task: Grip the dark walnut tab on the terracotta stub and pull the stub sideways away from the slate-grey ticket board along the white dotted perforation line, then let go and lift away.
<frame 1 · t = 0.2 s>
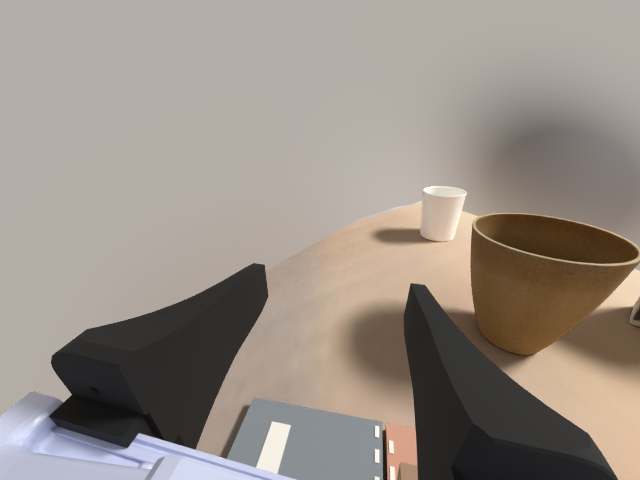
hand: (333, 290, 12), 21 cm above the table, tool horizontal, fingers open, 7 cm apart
plant pot: (507, 334, 36), on the table
candle holder: (436, 235, 67), on the table
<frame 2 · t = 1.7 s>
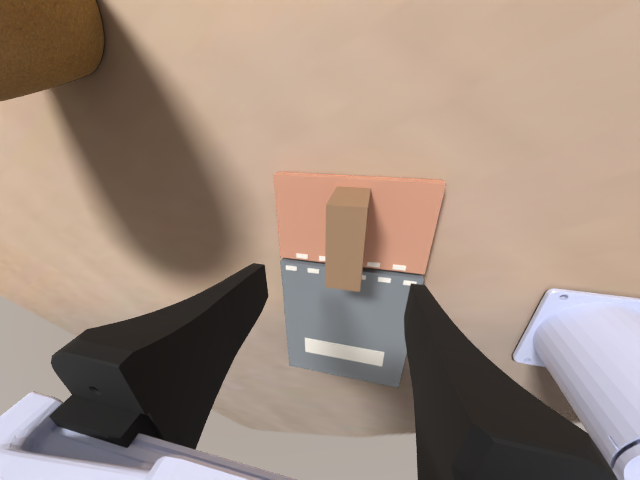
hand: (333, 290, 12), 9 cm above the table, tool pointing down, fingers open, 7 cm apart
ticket: (346, 321, 25), on the table
plant pot: (60, 14, 18), on the table
stub: (348, 234, 18), point 3 cm above the table, slide at 0.0 cm
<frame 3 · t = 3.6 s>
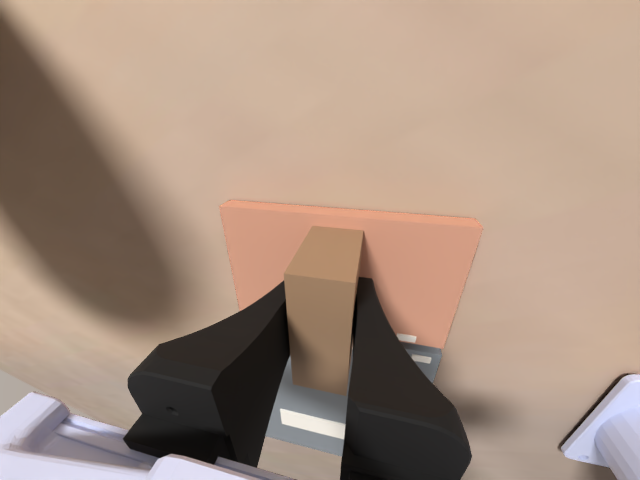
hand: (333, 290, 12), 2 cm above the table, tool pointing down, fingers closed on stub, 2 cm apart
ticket: (333, 389, 19), on the table
stub: (330, 299, 12), point 3 cm above the table, slide at 0.0 cm, touching gripper
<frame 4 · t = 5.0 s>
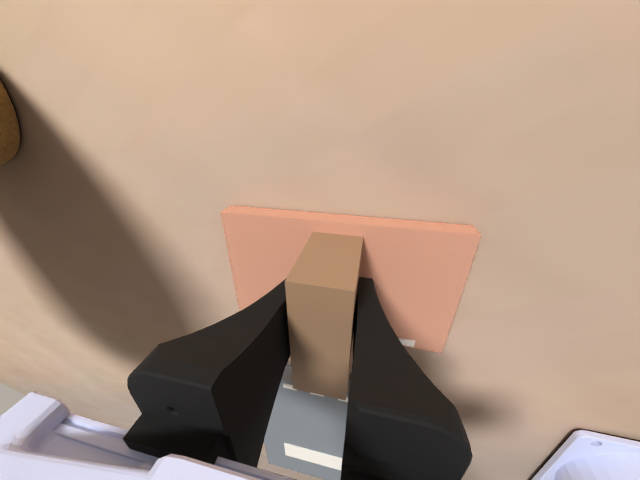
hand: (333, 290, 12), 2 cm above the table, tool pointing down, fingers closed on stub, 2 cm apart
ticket: (331, 426, 22), on the table
stub: (330, 304, 12), point 3 cm above the table, slide at 5.0 cm, touching gripper
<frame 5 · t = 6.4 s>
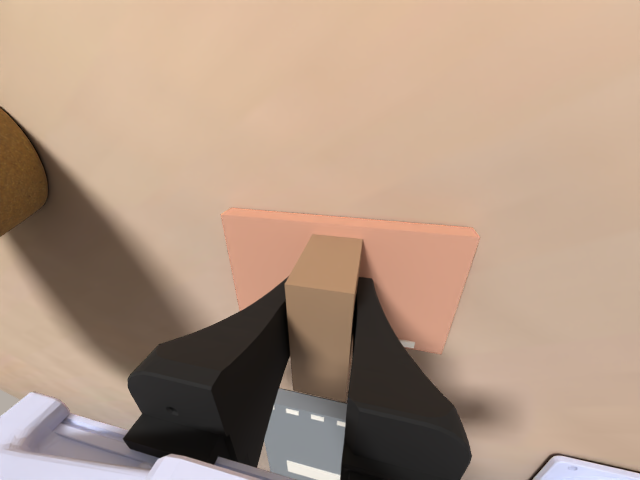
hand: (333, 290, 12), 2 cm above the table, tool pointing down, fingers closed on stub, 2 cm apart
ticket: (331, 445, 23), on the table
stub: (330, 306, 12), point 3 cm above the table, slide at 8.0 cm, touching gripper
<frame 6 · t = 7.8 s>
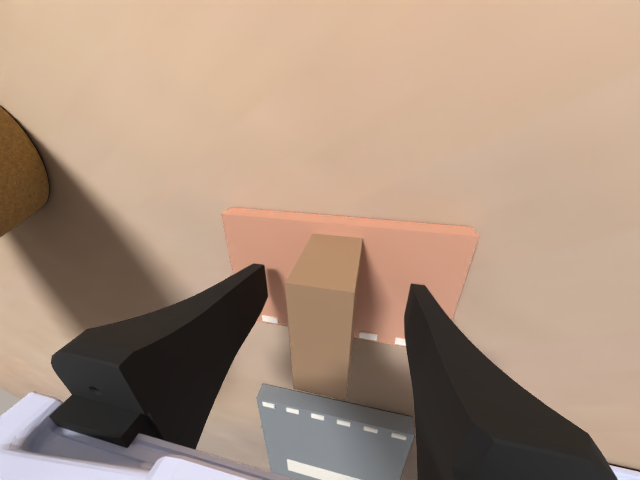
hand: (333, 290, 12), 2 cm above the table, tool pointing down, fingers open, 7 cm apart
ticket: (331, 444, 23), on the table
stub: (330, 305, 12), point 3 cm above the table, slide at 8.0 cm
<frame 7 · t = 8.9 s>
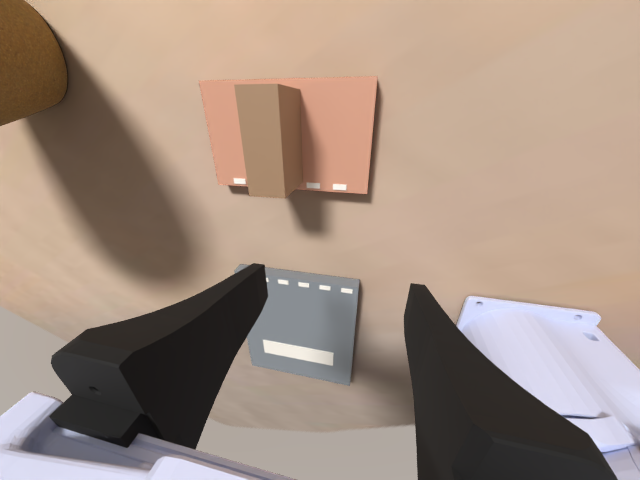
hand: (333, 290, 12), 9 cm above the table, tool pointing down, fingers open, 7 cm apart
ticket: (299, 324, 27), on the table
plant pot: (28, 52, 20), on the table
stub: (277, 141, 16), point 3 cm above the table, slide at 8.0 cm
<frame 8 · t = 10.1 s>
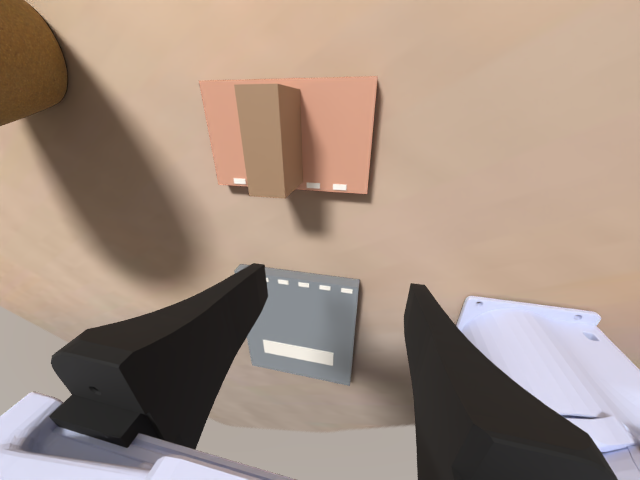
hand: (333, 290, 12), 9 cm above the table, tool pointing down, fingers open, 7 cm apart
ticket: (299, 324, 27), on the table
plant pot: (28, 52, 20), on the table
stub: (277, 141, 16), point 3 cm above the table, slide at 8.0 cm
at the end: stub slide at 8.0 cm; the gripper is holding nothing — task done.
